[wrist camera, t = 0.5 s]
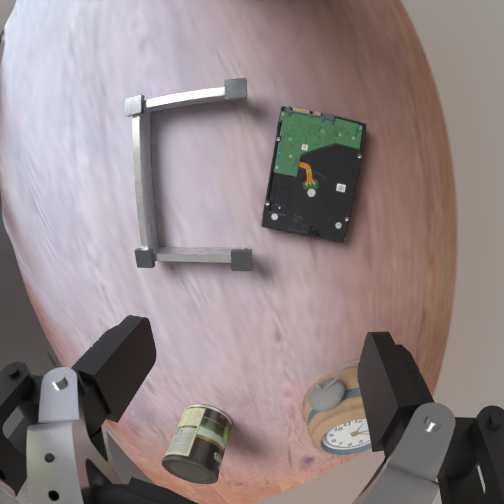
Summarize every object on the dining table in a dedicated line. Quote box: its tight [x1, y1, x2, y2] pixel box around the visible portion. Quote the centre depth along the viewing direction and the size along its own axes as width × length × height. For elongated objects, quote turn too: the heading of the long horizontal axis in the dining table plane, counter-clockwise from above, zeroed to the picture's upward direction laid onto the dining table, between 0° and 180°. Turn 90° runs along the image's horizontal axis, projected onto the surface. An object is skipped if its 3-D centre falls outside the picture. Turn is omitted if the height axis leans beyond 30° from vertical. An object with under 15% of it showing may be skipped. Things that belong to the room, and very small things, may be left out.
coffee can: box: [161, 404, 232, 484], centre depth 41 cm, size 10×10×14 cm
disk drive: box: [261, 106, 366, 243], centre depth 31 cm, size 10×3×15 cm
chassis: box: [125, 78, 253, 271], centre depth 32 cm, size 22×15×4 cm
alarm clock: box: [303, 360, 372, 455], centre depth 37 cm, size 17×9×23 cm
